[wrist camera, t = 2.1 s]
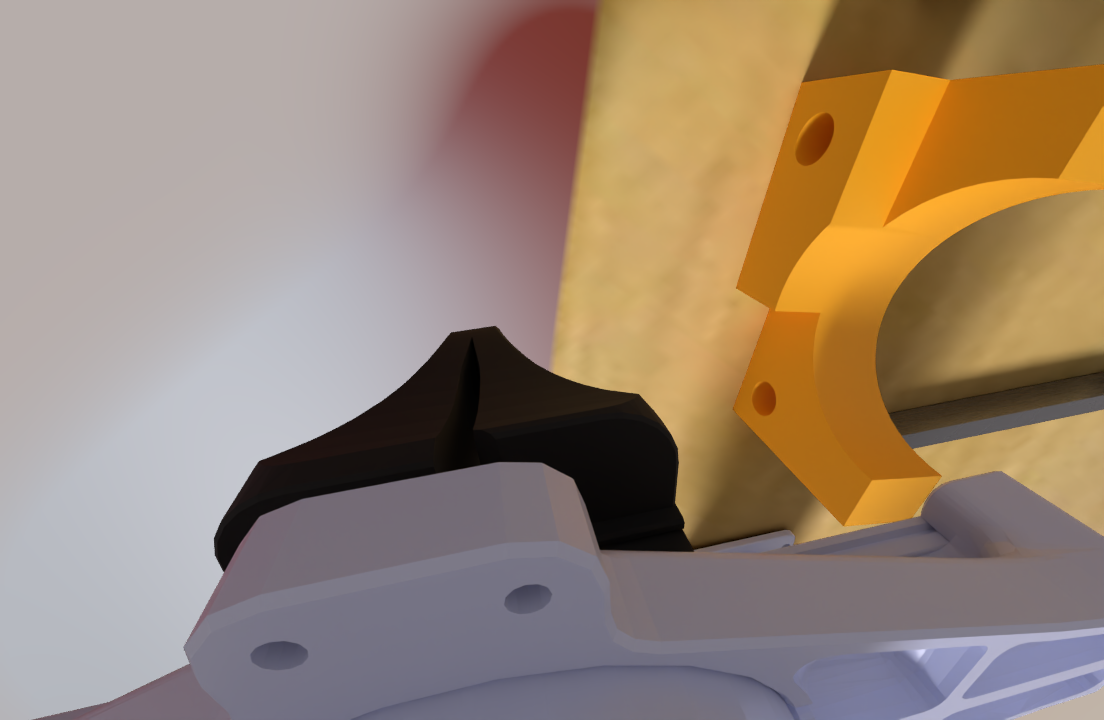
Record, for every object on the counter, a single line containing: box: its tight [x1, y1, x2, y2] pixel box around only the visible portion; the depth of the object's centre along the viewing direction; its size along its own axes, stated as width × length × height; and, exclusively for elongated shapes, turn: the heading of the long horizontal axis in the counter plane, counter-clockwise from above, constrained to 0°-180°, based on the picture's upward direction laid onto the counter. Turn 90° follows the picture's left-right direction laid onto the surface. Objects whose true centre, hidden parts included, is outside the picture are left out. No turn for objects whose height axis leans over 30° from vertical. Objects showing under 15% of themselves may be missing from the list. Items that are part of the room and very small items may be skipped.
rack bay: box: [889, 372, 1104, 449], centre depth 16 cm, size 18×19×2 cm
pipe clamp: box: [733, 64, 1104, 526], centre depth 13 cm, size 12×4×6 cm, turn 174°
